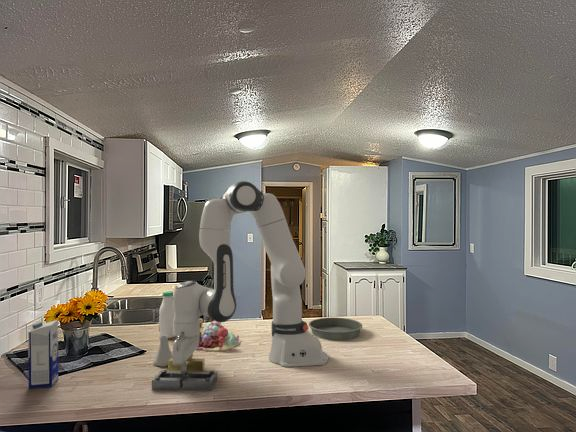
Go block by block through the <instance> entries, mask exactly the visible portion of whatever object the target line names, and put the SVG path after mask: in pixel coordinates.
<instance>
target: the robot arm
mask: <svg viewBox="0 0 576 432" xmlns="http://www.w3.org/2000/svg"><path fill="white" fill-rule="evenodd" d="M246 212H249V213H250V214H251V215H252V217H253V218H254V219H255V223H256V226H257V229H258V232H259V236H260V239H261V241H262V244H263V247H264V250H265V252H266V254H267V256H268V259H269V262H270V281H271V283H270V284H271V293H272V295H271V296H272V321H271V327H270V328H271V331H270V332H271V337H272V339H271V347H270V352H269V355H268V360H269V361H270V362H272V363H275V364H278V365H279V366H282V367H285V368H289V367H291V368H293V367H307V366H325V365H326V364H328V363H329V355H328V353H327V352H326V351H324V350H323V346H322V343H321V341H320V339H318V337H316V336H314V335H313V334H312V332H310V331H308V330H309V324H308V323H307V321H305V320H303V313H302V312H303V299H302V294H301V288H300V286H301V285H302V284H303V283H304V281H305V278H306V268H305V265H304V263H303V261H302V258H301V256H300V252H299V251H298V248H297V246H296V244H295V242H294V239H293V237H292V233H291V231H290V228H289V225H288V221H287V219H286V216H285V214H284V210H283V208H282V205H281V204H280V202H279V201H278V198H277V197H276V195H275V194H273V193H267V192H266V193H263V192H262V191H260V189H258V187H256V185H254V184H253V183H252V182H250V181H246V180H244V181H243V180H242V181H238V182H234V184H231V185H230V186H228V188H227V189H226V190H225V192H224V193H223V195H222V196H221V197H220V198H214V199H209V200H208V201H206V202H205V204H204V207H203V210H202V212H201V213H202V214H201V217H200V223H199V231H198V232H199V233H198V236H199V237H198V241H199V246H200V248H201V250H203V252H204V253H205V254H207V256H208V257H209V258H210V259H211V260H212V262H213V265H214V271H215V272H214V282H215V283H214V287H215V288H211V287H206V286H204V285H201V284H199V283H198V281H196V280H186V281H182V282H180V283H178V284H176V286H175V287H174V292H173V310H174V319H173V335H174V336H176V337H175V338H176V339H175V340H174V341H173V345H172V356H173V357H172V361H173V364H174V365H181V371H187V370H188V369H187V368H188V366H187V359H188V358H193V356H194V353H195V351H196V349H197V347H198V346H199V340H200V328H201V322H199V319H200V317H201V316H204V317H206V318H207V317H208V318H210V319H212V321H217V322H221V323H225V322H227V321H229V320H230V319H231V318H232V317H233V316H234V315H235V313H236V312H237V311H236V310H237V305H238V304H237V299H236V296H235V291H234V256H233V255H234V254H233V250H232V246H231V228H232V220H233V217H234V216H235V215H237V214H244V213H246Z"/></svg>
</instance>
